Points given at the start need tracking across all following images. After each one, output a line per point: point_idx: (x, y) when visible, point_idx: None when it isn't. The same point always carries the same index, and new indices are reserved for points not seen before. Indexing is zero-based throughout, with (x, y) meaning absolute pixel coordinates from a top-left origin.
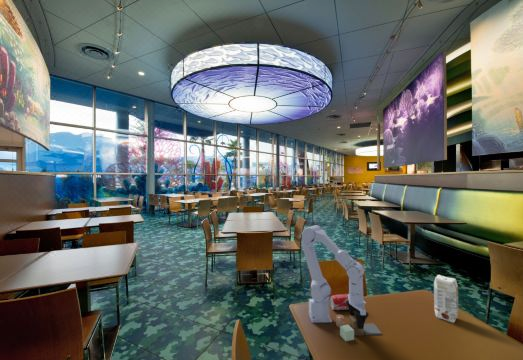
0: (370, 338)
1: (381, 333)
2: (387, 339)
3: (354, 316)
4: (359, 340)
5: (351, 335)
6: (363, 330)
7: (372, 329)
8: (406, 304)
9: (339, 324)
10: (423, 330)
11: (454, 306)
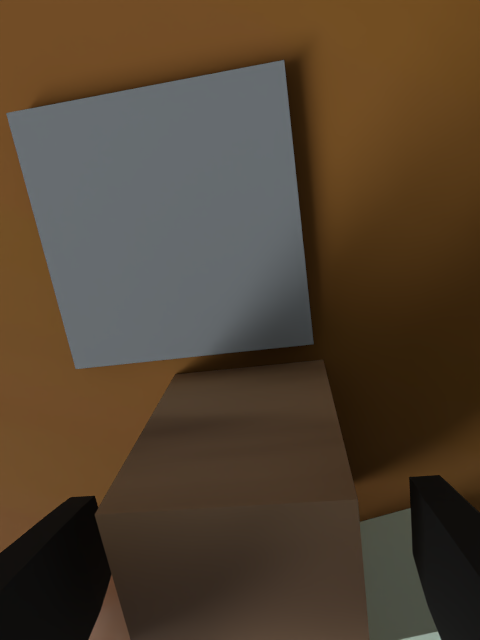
0: (395, 291)
1: (284, 65)
2: (416, 3)
3: (168, 623)
4: (442, 449)
5: None
6: (331, 397)
7: (194, 197)
8: None
9: None
10: None
11: None
